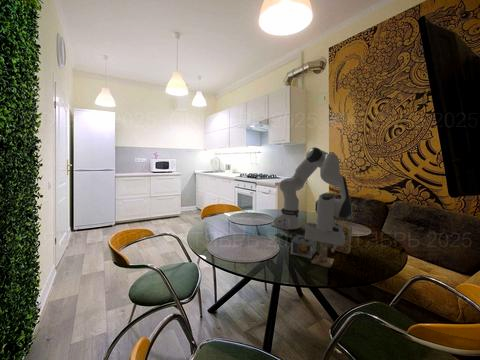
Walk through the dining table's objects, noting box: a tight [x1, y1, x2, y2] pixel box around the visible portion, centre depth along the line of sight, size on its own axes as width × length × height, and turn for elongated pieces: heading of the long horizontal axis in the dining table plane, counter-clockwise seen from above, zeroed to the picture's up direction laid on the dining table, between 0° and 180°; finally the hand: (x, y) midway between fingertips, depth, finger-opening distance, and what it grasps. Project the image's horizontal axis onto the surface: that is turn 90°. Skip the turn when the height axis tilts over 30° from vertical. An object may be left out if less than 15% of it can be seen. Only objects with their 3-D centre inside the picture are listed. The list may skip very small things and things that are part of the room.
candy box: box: [332, 225, 353, 255], centre depth 138 cm, size 9×4×15 cm, turn 50°
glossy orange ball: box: [300, 244, 308, 251], centre depth 136 cm, size 4×4×3 cm
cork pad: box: [310, 254, 335, 268], centre depth 125 cm, size 10×10×1 cm
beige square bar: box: [318, 242, 328, 262], centre depth 124 cm, size 3×3×16 cm
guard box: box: [290, 233, 318, 260], centre depth 136 cm, size 12×12×8 cm
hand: (323, 249), depth 124 cm, fingers open, 8 cm apart
